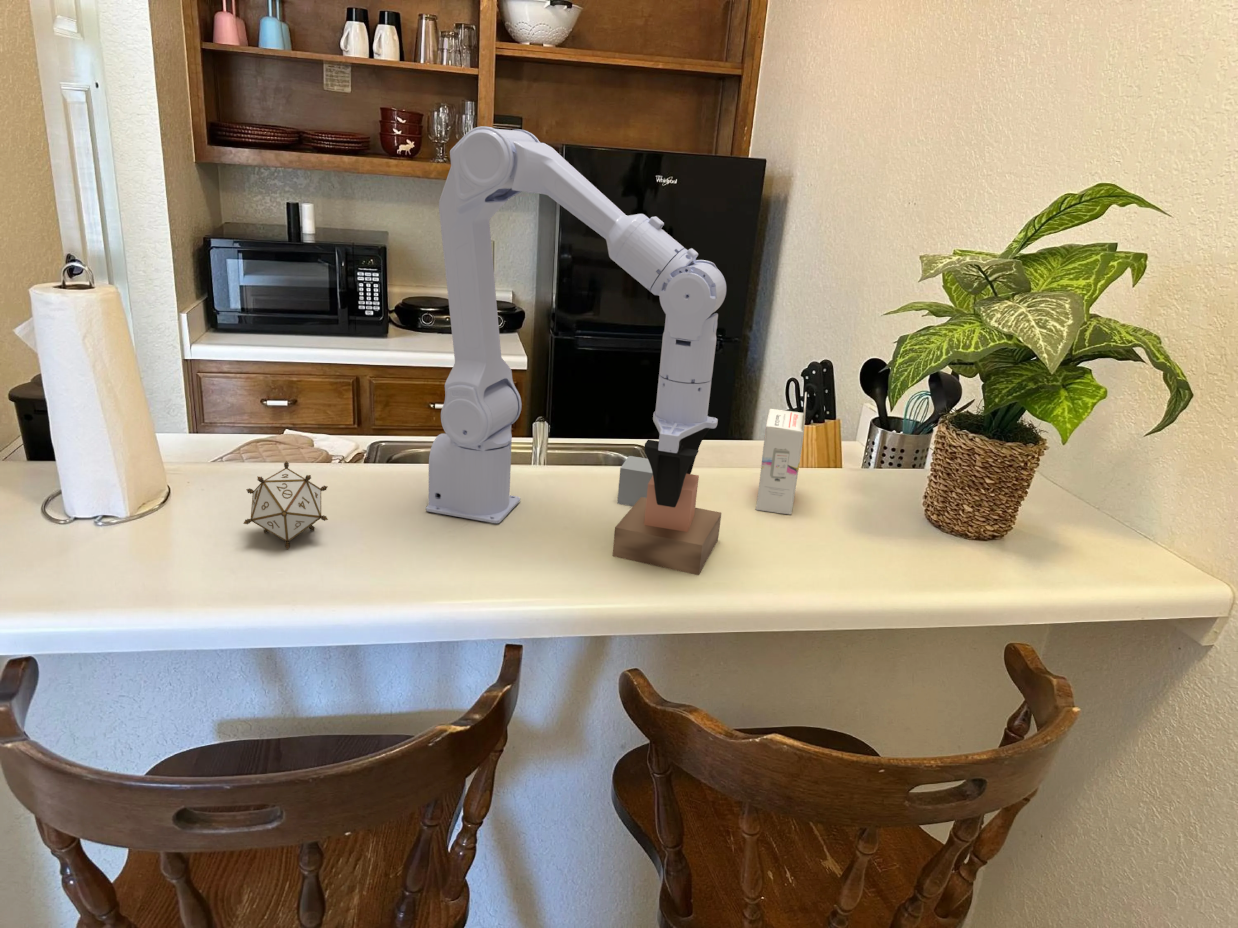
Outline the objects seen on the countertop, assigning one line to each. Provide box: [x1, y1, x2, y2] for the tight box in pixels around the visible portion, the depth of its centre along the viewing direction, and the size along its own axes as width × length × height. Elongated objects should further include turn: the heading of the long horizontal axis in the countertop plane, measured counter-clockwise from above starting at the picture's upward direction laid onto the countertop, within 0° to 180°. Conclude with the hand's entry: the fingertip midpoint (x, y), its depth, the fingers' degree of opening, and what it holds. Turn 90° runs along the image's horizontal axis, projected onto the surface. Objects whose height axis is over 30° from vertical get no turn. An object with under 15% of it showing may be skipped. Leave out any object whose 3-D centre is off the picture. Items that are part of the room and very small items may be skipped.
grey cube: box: [617, 455, 653, 507], centre depth 114 cm, size 5×5×5 cm
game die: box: [242, 460, 329, 550], centre depth 95 cm, size 9×8×10 cm
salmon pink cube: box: [644, 473, 700, 532], centre depth 100 cm, size 5×5×5 cm
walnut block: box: [612, 497, 722, 576], centre depth 101 cm, size 10×10×4 cm
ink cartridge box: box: [755, 391, 808, 516], centre depth 115 cm, size 9×5×15 cm, turn 168°
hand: (672, 492), depth 99 cm, fingers open, 7 cm apart
